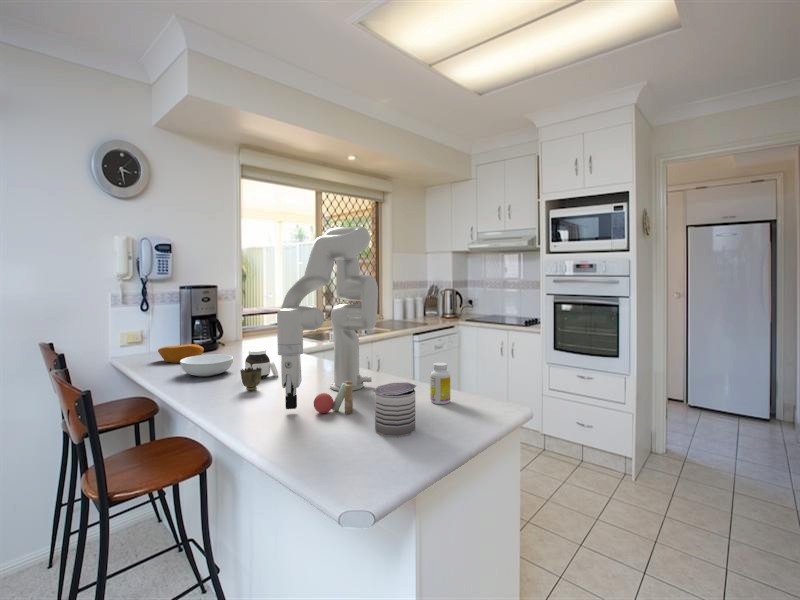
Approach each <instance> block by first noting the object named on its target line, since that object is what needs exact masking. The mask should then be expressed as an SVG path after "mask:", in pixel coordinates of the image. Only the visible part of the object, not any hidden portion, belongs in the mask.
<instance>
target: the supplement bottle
mask: <svg viewBox="0 0 800 600" xmlns="http://www.w3.org/2000/svg"><path fill="white" fill-rule="evenodd" d="M432 368H433V371H432V370H431V372H430V375H429V376H430V385H429V386H430V388H429V389H430V390H429V391H430V395H429V397H430V402H431V404H437V405H447V404H449V403H450V402H451V373H450V372H449V371H448V370H447V369H448V363H446V362H435V363H434V362H433V365H432Z"/></svg>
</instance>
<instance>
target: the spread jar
mask: <svg viewBox="0 0 800 600" xmlns="http://www.w3.org/2000/svg"><path fill="white" fill-rule="evenodd" d="M244 367H245V368H246V369H248V368H249V367H250V368H252V367H253V369H256V368H257V367H258V368H262V372H261V380H263V378H264V379H266V378H268V377H269V376H270V374H271V373H272V375H273V376H274V377H277V376H279V371H278V369H277V366H276V364H275V362H274V361H273V360H271V359H270V358H269V356H268V355H267V349H266V348H252V349H249V350H248V355H247V356H246V358H245V361H244ZM245 368H244V369H245Z"/></svg>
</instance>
